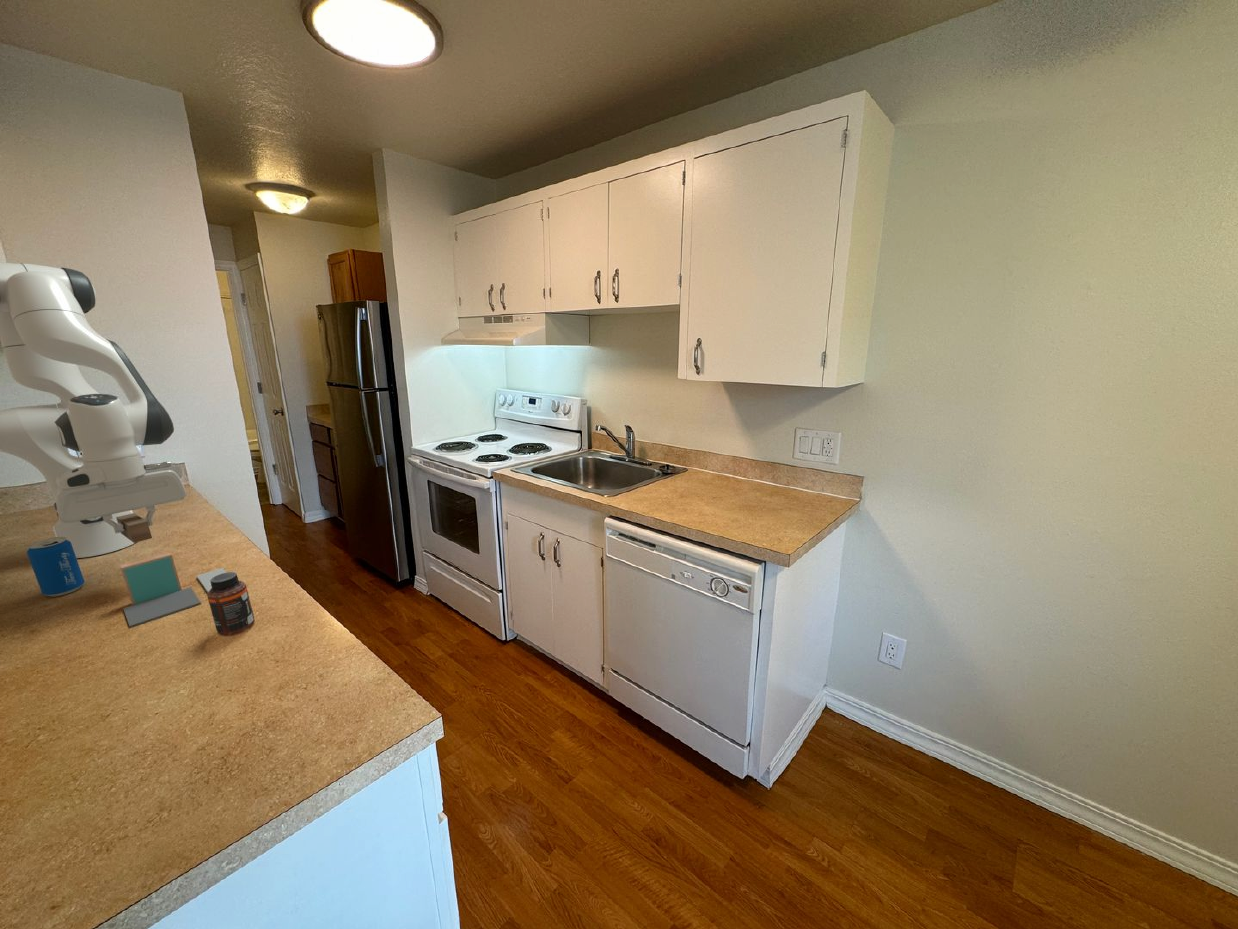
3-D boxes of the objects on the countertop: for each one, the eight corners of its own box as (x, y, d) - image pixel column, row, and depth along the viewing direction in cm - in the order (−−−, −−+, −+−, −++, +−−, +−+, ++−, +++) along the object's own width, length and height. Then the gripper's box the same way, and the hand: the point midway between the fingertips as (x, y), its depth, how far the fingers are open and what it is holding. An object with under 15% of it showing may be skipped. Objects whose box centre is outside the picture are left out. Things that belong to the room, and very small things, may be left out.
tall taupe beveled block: (121, 533, 111) (116, 517, 110) (138, 529, 113) (133, 513, 112) (134, 543, 106) (128, 525, 105) (152, 538, 108) (147, 521, 107)
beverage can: (57, 599, 106) (38, 549, 103) (35, 596, 107) (16, 547, 104) (93, 584, 112) (77, 537, 109) (72, 582, 113) (55, 535, 110)
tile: (131, 603, 104) (119, 565, 102) (180, 588, 110) (170, 552, 108) (133, 606, 103) (121, 568, 101) (182, 591, 109) (171, 555, 107)
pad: (197, 577, 115) (196, 575, 115) (223, 570, 118) (222, 567, 118) (209, 595, 107) (208, 592, 107) (236, 586, 111) (236, 583, 111)
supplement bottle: (262, 622, 97) (250, 571, 94) (231, 640, 92) (217, 587, 89) (242, 617, 99) (229, 567, 96) (210, 634, 94) (195, 581, 90)
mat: (123, 609, 102) (122, 608, 102) (191, 588, 110) (190, 587, 110) (130, 627, 96) (129, 626, 96) (201, 604, 104) (200, 602, 104)
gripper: (176, 457, 115) (190, 512, 119) (45, 478, 100) (67, 539, 104) (181, 461, 111) (196, 518, 115) (46, 483, 96) (69, 547, 100)
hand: (134, 528), depth 109 cm, fingers closed on tall taupe beveled block, 3 cm apart
